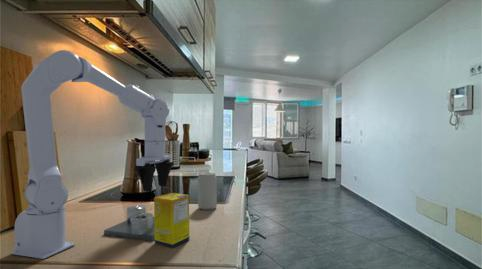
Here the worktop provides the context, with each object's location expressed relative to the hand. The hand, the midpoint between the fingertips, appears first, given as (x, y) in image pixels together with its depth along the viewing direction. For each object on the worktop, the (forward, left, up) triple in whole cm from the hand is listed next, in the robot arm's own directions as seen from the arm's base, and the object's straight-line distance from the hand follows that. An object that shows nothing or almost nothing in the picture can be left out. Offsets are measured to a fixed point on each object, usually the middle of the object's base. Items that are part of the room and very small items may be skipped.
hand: (155, 188), depth 84 cm
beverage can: (+8, +19, -10) cm, 23 cm away
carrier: (0, -6, -10) cm, 11 cm away
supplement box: (+12, -12, -10) cm, 20 cm away
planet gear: (+3, -10, -9) cm, 14 cm away
